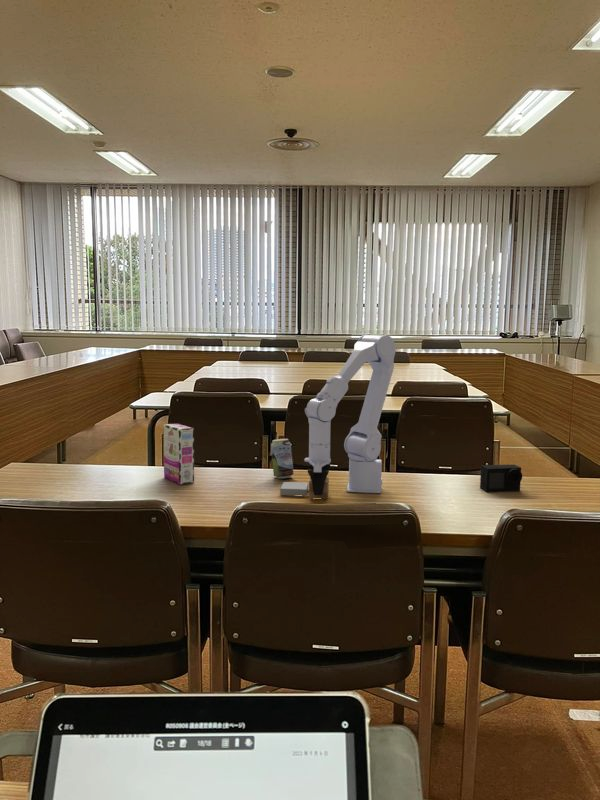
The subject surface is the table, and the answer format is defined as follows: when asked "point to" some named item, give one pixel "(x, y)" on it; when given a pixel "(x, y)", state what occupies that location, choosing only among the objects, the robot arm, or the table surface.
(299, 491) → the plinth
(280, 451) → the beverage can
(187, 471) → the candy bar box
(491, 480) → the digital camera
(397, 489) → the table surface
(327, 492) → the walnut block
